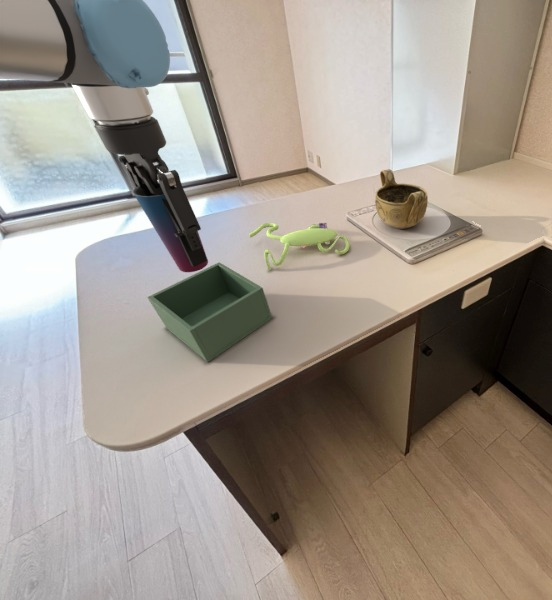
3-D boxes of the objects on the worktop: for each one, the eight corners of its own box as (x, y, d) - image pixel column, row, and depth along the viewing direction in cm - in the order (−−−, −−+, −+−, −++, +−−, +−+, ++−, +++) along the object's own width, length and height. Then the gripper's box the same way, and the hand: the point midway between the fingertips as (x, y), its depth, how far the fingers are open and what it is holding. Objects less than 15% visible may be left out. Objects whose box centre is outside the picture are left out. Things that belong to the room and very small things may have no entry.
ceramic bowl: (363, 215, 114) (361, 172, 104) (405, 206, 120) (407, 164, 111) (394, 245, 99) (395, 198, 90) (440, 233, 106) (445, 188, 96)
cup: (220, 262, 63) (190, 186, 53) (187, 279, 58) (147, 200, 49) (199, 251, 66) (166, 176, 56) (165, 267, 61) (123, 189, 51)
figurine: (251, 240, 99) (246, 223, 95) (337, 225, 108) (335, 209, 104) (257, 273, 86) (251, 256, 83) (353, 254, 95) (352, 237, 91)
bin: (207, 362, 64) (189, 331, 58) (166, 328, 71) (147, 297, 65) (272, 318, 74) (262, 287, 68) (231, 292, 80) (219, 262, 75)
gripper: (187, 125, 44) (238, 265, 59) (123, 105, 52) (182, 233, 67) (126, 136, 39) (198, 285, 54) (66, 112, 47) (143, 248, 62)
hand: (189, 256), depth 61 cm, fingers closed on cup, 6 cm apart
